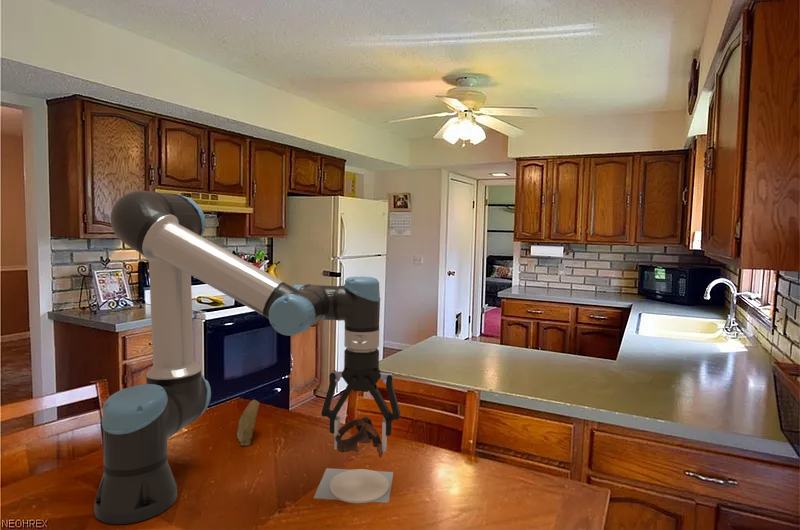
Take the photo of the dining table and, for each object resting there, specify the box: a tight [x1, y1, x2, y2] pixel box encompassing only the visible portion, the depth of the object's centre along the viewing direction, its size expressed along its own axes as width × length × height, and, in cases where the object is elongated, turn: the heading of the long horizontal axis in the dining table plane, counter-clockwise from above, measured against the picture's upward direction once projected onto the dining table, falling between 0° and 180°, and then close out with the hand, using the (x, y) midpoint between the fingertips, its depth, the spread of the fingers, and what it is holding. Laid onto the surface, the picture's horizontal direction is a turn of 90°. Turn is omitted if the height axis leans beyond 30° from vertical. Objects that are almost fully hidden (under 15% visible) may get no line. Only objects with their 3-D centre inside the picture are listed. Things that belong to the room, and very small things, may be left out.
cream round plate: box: [330, 468, 389, 504], centre depth 110 cm, size 13×13×1 cm
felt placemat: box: [313, 467, 394, 504], centre depth 111 cm, size 16×13×1 cm
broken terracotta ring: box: [335, 416, 384, 458], centre depth 109 cm, size 12×10×8 cm
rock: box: [235, 399, 260, 447], centre depth 134 cm, size 11×9×10 cm
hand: (360, 447), depth 109 cm, fingers closed on broken terracotta ring, 10 cm apart
